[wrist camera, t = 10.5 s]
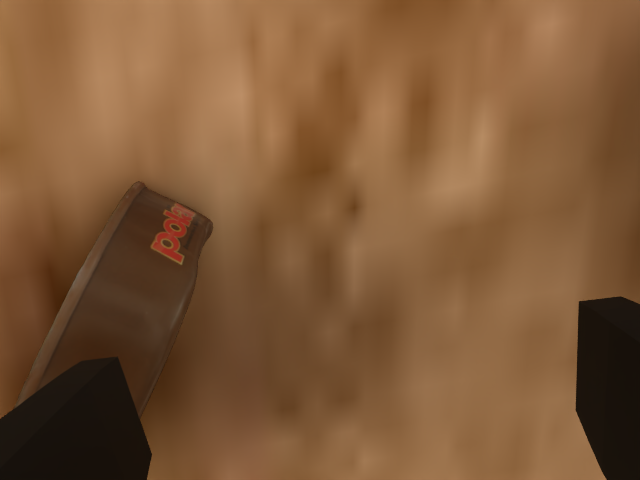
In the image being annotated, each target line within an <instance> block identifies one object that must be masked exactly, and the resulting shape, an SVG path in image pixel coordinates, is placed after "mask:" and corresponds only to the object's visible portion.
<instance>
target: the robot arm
mask: <svg viewBox="0 0 640 480" xmlns="http://www.w3.org/2000/svg"><path fill="white" fill-rule="evenodd" d="M576 412H577V414H578V417H579V419H580V422H581V424H582V426H583V429H584V431H585V434H586V436H587V438H588V441H589V443H590V445H591V448H592V450H593V452H594V454H595V457H596V459H597V461H598V463H599V466H600V468H601V470H602V472H603V474H604V476H605V477H606V479H607V480H640V304H638V303H635V302H633V301H631V300H628V299H626V298H623V297H613V298H604V299H596V300H587V301H579V315H578V349H577V384H576ZM151 456H152V453H151V450H150V448H149V445H148V442H147V439H146V436H145V433H144V430H143V427H142V424H141V422H140V419H139V416H138V413H137V410H136V407H135V404H134V401H133V399H132V396H131V393H130V390H129V387H128V384H127V381H126V378H125V375H124V373H123V370H122V367H121V364H120V361H119V358H118V356H117V357H109V358H100V359H92V360H84V361H80V362H79V363H77V364H76V365H74V366H72V367H71V368H69V369H68V370H66V371H65V372H63V373H62V374H60V375H59V376H57V377H56V378H55V379H53V380H52V381H50V382H49V383H48V384H46V385H45V386H44V387H42V388H41V389H40V390H38V391H37V392H36V393H34V394H33V395H32V396H30V397H29V398H28V399H26V400H25V401H24V402H22V403H21V404H20V405H18V406H17V407H16V408H14V409H13V410H12V411H10V412H9V413H8V414H7V415H5V416H4V417H3V418H1V419H0V480H147V475H148V471H149V466H150V461H151Z"/></svg>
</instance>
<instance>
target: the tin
mask: <svg viewBox="0 0 640 480" xmlns="http://www.w3.org/2000/svg"><path fill="white" fill-rule="evenodd" d="M212 230H213V223H212V222H211V220H209V219H208V218H207V217H205V216H203V215H202V214H200V213H198V212H196V211H194V210H192V209H190V208H188V207H186V206H184V205H182V204H179V203H177V202H175V201H173V200H171V199H168V198H166V197H164V196H162V195H160V194H157V193H155V192H153V191H151V190H149V189H147V187H146V185H145V184H144V183H143V182H140V181H138V182H136V183H134V184H133V185H132V186H131V188H130V189H129V190H128V191H127V192H126V194H125V195H124V197H123V198H122V200H121V201H120V203H119V204H118V206H117V208H116V209H115V211H114V212H113V213H112V215H111V217H110V218H109V220H108V222H107V224H106V225H105V227H104V229H103V231H102V232H101V234H100V235H99V237H98V239H97V240H96V242H95V244H94V246H93V248H92V249H91V251H90V253H89V254H88V256H87V258H86V260H85V262H84V264H83V266H82V267H81V269H80V270H79V272H78V274H77V276H76V278H75V280H74V282H73V284H72V286H71V288H70V290H69V292H68V294H67V296H66V298H65V300H64V302H63V304H62V306H61V308H60V310H59V312H58V314H57V316H56V318H55V321H54V323H53V325H52V327H51V329H50V331H49V333H48V335H47V336H46V338H45V341H44V343H43V345H42V347H41V349H40V351H39V353H38V355H37V357H36V359H35V361H34V364H33V366H32V368H31V371H30V374H29V376H28V378H27V379H26V381H25V383H24V386H23V388H22V391H21V393H20V394H19V397H18V401H17V403H16V405H15V407H14V408H16V407H17V406H18V405H20V404H21V403H22V402H24V401H25V400H26V399H28V398H29V397H30V396H32V395H33V394H34V393H36V392H37V391H38V390H40V389H41V388H42V387H44V386H45V385H46V384H48V383H49V382H50V381H52V380H53V379H55V378H56V377H57V376H59V375H60V374H62V373H63V372H65V371H66V370H68V369H69V368H71V367H72V366H74V365H76V364H77V363H79V362H80V361H84V360H92V359H100V358H109V357H117V356H118V358H119V361H120V364H121V367H122V370H123V373H124V375H125V378H126V381H127V384H128V387H129V390H130V393H131V396H132V399H133V401H134V404H135V407H136V410H137V413H138V416H139V419H140V418H141V416H142V413H143V411H144V409H145V407H146V405H147V403H148V400H149V398H150V396H151V394H152V392H153V389H154V387H155V385H156V383H157V381H158V378H159V376H160V374H161V372H162V369H163V367H164V365H165V362H166V360H167V358H168V356H169V353H170V351H171V349H172V346H173V344H174V341H175V339H176V336H177V334H178V331H179V329H180V326H181V324H182V321H183V319H184V316H185V314H186V311H187V308H188V306H189V303H190V300H191V297H192V294H193V291H194V287H195V282H196V278H197V268H198V259H199V256H200V253H201V249H202V247H203V245H204V244H205V242H206V240H207V239H208V238H209V236H210V235H211V233H212Z"/></svg>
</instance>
